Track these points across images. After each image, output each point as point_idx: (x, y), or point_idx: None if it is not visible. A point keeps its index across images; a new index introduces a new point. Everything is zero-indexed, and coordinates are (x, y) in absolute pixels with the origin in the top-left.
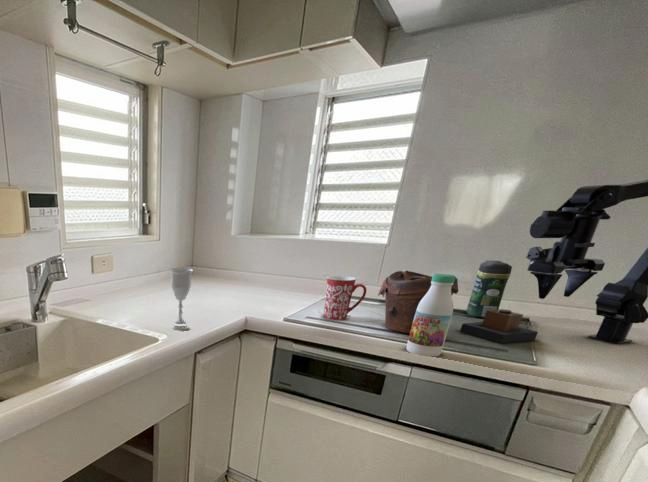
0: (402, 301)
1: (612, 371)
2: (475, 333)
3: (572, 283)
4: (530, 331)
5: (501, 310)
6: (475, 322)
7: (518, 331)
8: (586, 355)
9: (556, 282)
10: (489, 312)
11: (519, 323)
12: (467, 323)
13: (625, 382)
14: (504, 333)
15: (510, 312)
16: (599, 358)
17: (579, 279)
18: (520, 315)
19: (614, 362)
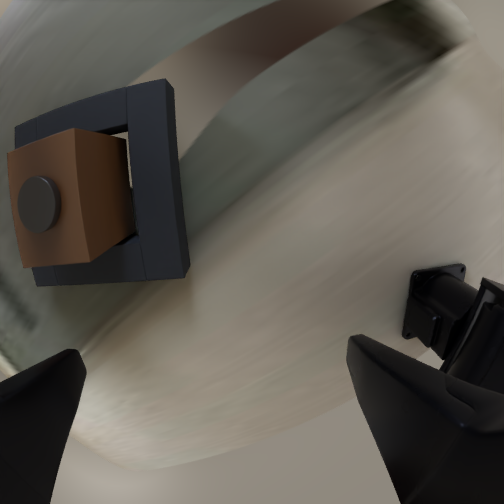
0: None
1: (154, 448)
2: None
3: (403, 433)
4: (155, 269)
5: (20, 204)
6: (62, 107)
7: (106, 260)
8: (201, 398)
9: (47, 495)
10: (11, 169)
11: (107, 247)
12: (27, 125)
13: (129, 464)
14: (45, 272)
15: (45, 230)
16: (210, 414)
17: (414, 488)
18: (77, 262)
19: (215, 431)
